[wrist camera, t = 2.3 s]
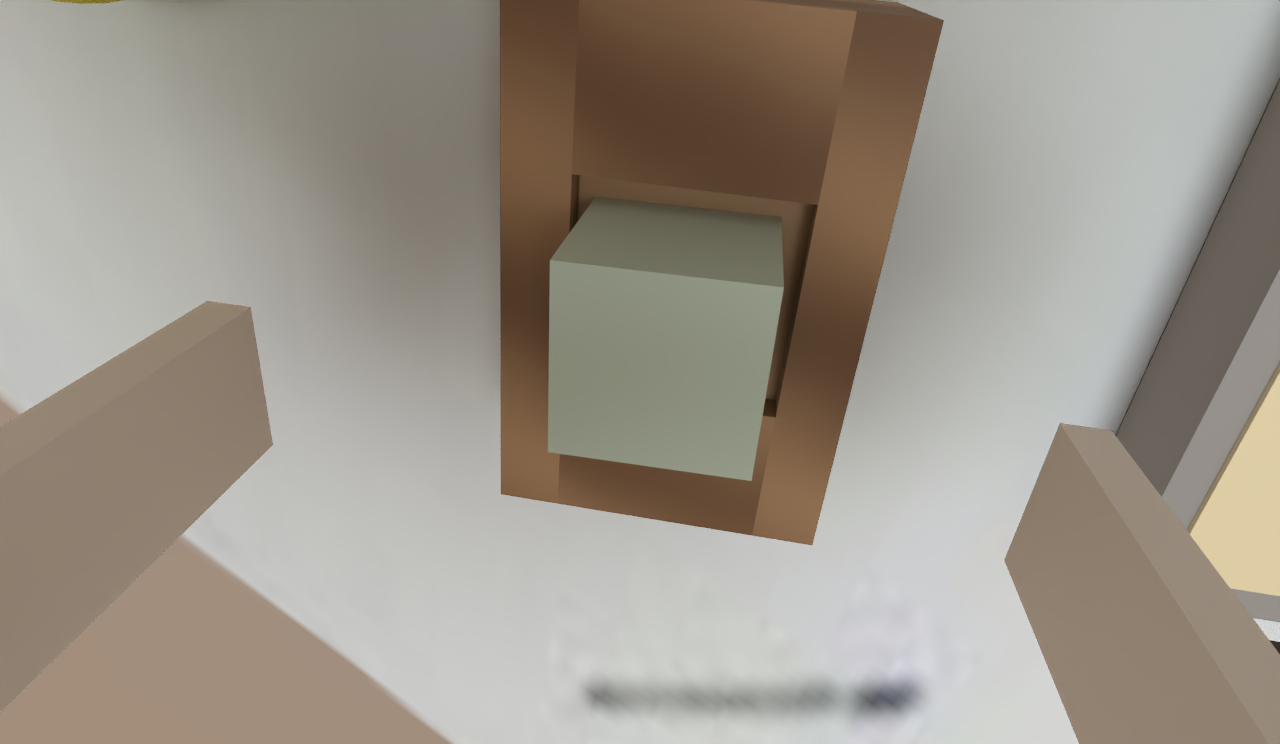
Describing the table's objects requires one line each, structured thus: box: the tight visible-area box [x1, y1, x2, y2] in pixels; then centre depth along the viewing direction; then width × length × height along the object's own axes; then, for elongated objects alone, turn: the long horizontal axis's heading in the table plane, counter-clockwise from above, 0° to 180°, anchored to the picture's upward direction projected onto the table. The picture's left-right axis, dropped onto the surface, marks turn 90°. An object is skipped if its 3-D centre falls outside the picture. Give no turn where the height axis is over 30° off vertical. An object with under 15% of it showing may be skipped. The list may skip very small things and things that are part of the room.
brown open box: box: [500, 0, 944, 545], centre depth 19 cm, size 12×8×6 cm, turn 175°
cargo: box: [548, 197, 784, 481], centre depth 16 cm, size 4×4×4 cm
